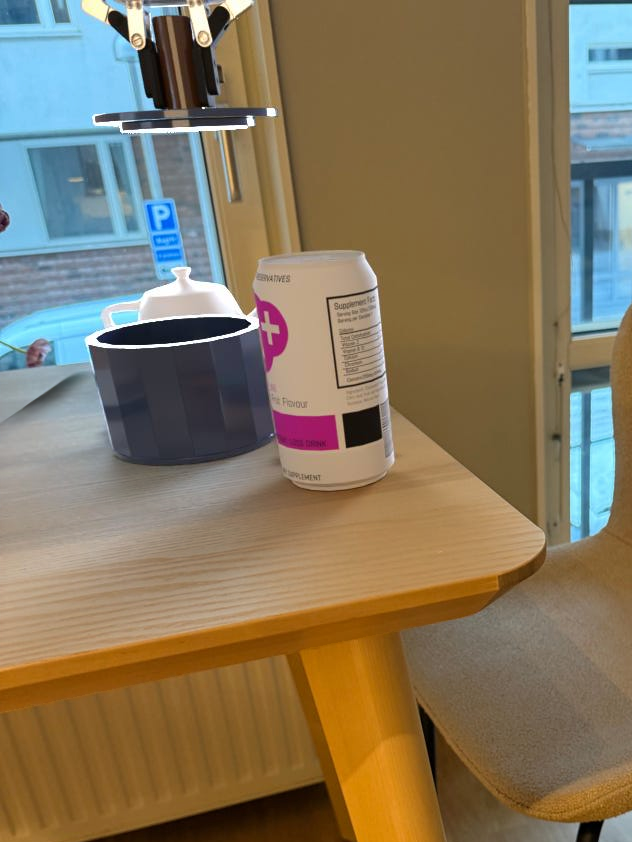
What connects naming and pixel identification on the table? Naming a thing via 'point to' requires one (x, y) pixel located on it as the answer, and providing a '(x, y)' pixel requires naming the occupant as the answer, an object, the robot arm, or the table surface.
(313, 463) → the supplement can
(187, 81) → the lid
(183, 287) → the teapot
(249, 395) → the canister
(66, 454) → the table surface
